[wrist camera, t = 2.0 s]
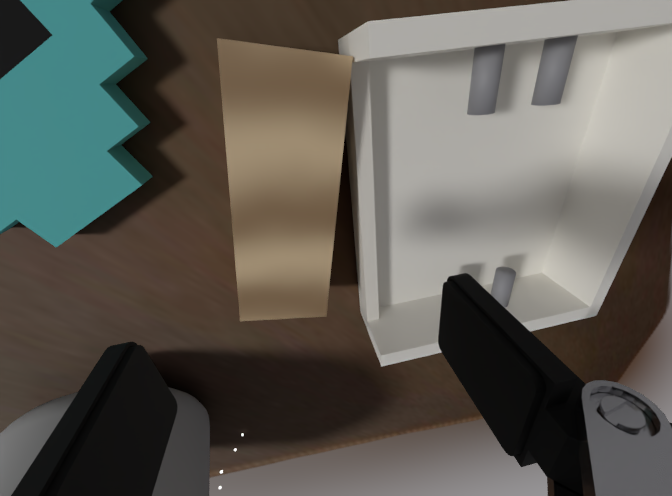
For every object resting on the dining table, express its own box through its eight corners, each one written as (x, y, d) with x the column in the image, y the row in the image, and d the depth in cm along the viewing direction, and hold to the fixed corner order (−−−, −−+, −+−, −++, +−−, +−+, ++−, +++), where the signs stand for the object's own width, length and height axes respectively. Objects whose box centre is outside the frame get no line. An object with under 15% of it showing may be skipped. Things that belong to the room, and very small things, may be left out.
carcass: (337, 40, 16) (368, 21, 11) (619, 9, 18) (754, -19, 13) (360, 311, 27) (381, 366, 22) (538, 273, 29) (596, 315, 24)
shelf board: (228, 47, 16) (217, 38, 12) (336, 61, 17) (352, 56, 14) (244, 286, 24) (240, 321, 20) (318, 283, 25) (326, 316, 21)
